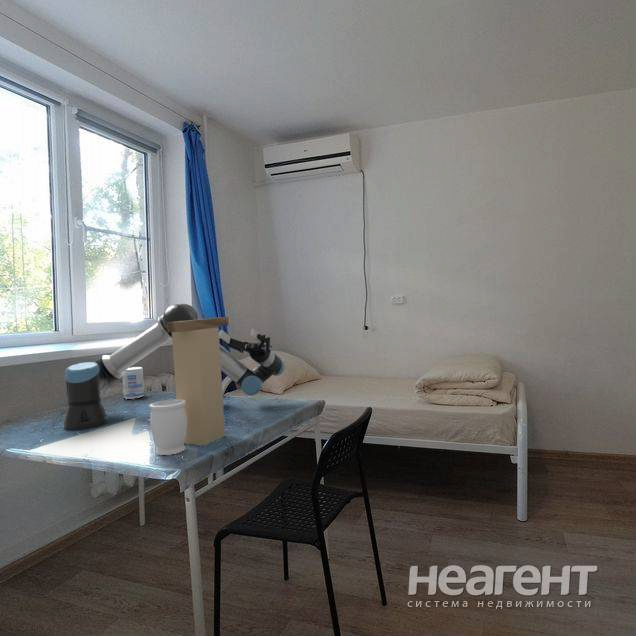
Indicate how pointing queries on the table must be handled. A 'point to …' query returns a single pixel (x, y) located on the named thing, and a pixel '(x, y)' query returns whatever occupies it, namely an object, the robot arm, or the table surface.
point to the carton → (199, 383)
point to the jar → (168, 426)
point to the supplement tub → (133, 383)
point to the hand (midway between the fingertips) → (235, 332)
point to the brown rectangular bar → (196, 324)
